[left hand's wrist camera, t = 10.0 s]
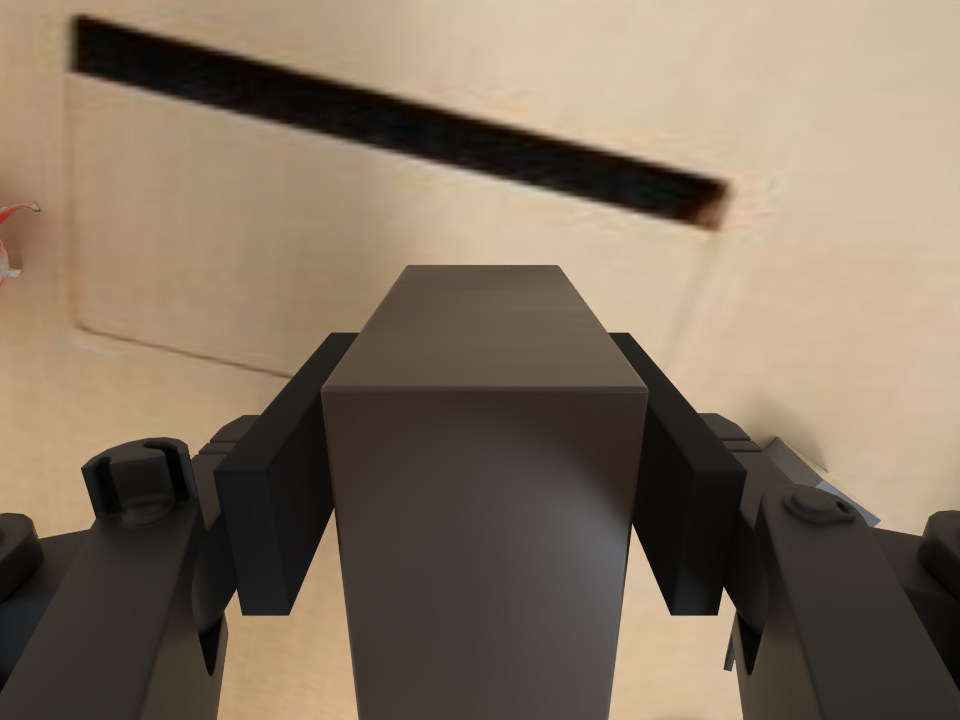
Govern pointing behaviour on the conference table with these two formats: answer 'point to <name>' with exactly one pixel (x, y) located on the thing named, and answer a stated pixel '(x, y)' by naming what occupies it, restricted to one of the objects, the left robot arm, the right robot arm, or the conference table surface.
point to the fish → (0, 252)
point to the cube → (813, 476)
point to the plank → (484, 496)
